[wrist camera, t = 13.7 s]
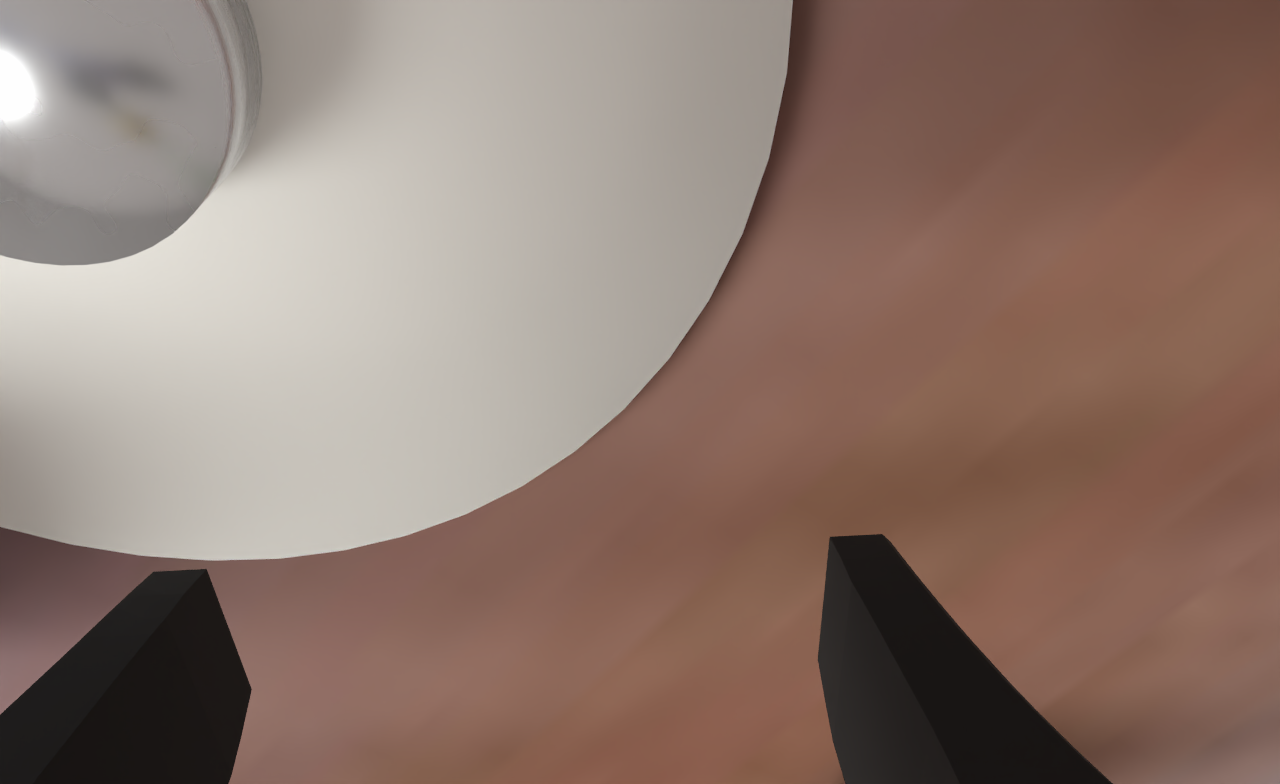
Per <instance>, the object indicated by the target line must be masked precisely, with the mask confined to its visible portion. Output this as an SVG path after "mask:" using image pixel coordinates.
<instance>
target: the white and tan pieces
mask: <svg viewBox="0 0 1280 784" xmlns="http://www.w3.org/2000/svg"><path fill="white" fill-rule="evenodd" d="M262 80H263V77H262V64H261V53H260V48H259V43H258V38H257V33H256V28H255V25H254V22H253V19H252V16H251V13H250V10H249V7H248V4H247V2H246V0H0V255H2V256H5V257H8V258H13V259H18V260H23V261H28V262H33V263H41V264H51V265H90V264H97V263H105V262H111V261H114V260H118V259H122V258H125V257H129V256H132V255H135V254H137V253H139V252H141V251H144V250H146V249H148V248H151V247H153V246H154V245H156V244H157V243H159V242H161V241H162V240H164V239H165V238H167V237H168V236H170V235H172V234H173V233H174V232H175V231H176V230H177V229H178V228H179V227H180V226H182V225H183V224H184V223H185V222H186V221H187V220H188V219H189V218H190V217H191V216H192V215H193V214H194V213H195V211H196V210H197V209H198V208H199V207H200V206H201V205H202V204H203V203H204V202H205V200H206V199H207V198H208V197H209V196H210V195H211V194H212V193H213V192H214V191H215V190H216V188H217V187H218V186H219V185H220V184H221V183H222V182H223V181H224V180H225V179H226V177H227V176H228V175H229V174H230V172H231V171H232V170H233V169H234V167H235V166H236V165H237V164H238V163H239V161H240V159H241V157H242V156H243V154H244V152H245V150H246V149H247V147H248V145H249V143H250V140H251V138H252V135H253V132H254V130H255V127H256V124H257V120H258V115H259V110H260V105H261V97H262Z"/></svg>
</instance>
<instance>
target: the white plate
mask: <svg viewBox="0 0 1280 784" xmlns="http://www.w3.org/2000/svg"><path fill="white" fill-rule="evenodd" d="M246 2H247V4H248V7H249V10H250V13H251V16H252V19H253V22H254V25H255V28H256V33H257V38H258V43H259V48H260V53H261V64H262V77H263V80H262V97H261V105H260V110H259V115H258V120H257V124H256V127H255V130H254V132H253V135H252V138H251V140H250V143H249V145H248V147H247V149H246V150H245V152H244V154H243V156H242V157H241V159H240V161H239V163H238V164H237V165H236V166H235V167H234V169H233V170H232V171H231V172H230V174H229V175H228V176H227V177H226V179H225V180H224V181H223V182H222V183H221V184H220V185H219V186H218V187H217V188H216V190H215V191H214V192H213V193H212V194H211V195H210V196H209V197H208V198H207V199H206V200H205V202H204V203H203V204H202V205H201V206H200V207H199V208H198V209H197V210H196V211H195V213H194V214H193V215H192V216H191V217H190V218H189V219H188V220H187V221H186V222H185V223H184V224H183V225H182V226H180V227H179V228H178V229H177V230H176V231H175V232H174V233H173V234H172V235H170V236H168V237H167V238H165V239H164V240H162V241H161V242H159V243H157V244H156V245H154V246H153V247H151V248H148V249H146V250H144V251H141V252H139V253H137V254H135V255H132V256H129V257H125V258H122V259H118V260H114V261H111V262H105V263H97V264H90V265H51V264H41V263H33V262H28V261H23V260H18V259H13V258H8V257H5V256H2V255H0V527H3V528H7V529H11V530H15V531H19V532H23V533H27V534H31V535H35V536H39V537H43V538H47V539H51V540H55V541H59V542H63V543H67V544H71V545H77V546H84V547H90V548H96V549H102V550H109V551H115V552H121V553H128V554H134V555H140V556H152V557H167V558H182V559H196V560H211V561H212V560H250V559H280V558H288V557H296V556H304V555H312V554H320V553H328V552H336V551H343V550H348V549H352V548H356V547H360V546H365V545H369V544H373V543H377V542H382V541H386V540H390V539H394V538H398V537H403V536H406V535H409V534H412V533H415V532H418V531H420V530H423V529H426V528H429V527H432V526H434V525H437V524H440V523H443V522H446V521H448V520H451V519H454V518H457V517H460V516H462V515H465V514H467V513H469V512H471V511H473V510H475V509H477V508H479V507H481V506H483V505H485V504H487V503H489V502H491V501H493V500H495V499H497V498H499V497H502V496H504V495H506V494H508V493H510V492H512V491H514V490H516V489H518V488H520V487H522V486H523V485H525V484H526V483H528V482H529V481H531V480H532V479H534V478H535V477H537V476H538V475H540V474H541V473H543V472H544V471H546V470H547V469H549V468H551V467H552V466H554V465H555V464H557V463H558V462H560V461H561V460H563V459H564V458H566V457H567V456H569V455H570V454H572V453H573V452H575V451H576V450H577V449H578V448H579V447H581V446H582V445H583V444H584V443H585V442H586V441H588V440H589V439H590V438H591V437H592V436H593V435H595V434H596V433H597V432H598V431H599V430H600V429H602V428H603V427H604V426H605V425H606V424H607V423H609V422H610V421H611V420H612V419H613V418H614V417H616V416H617V415H618V414H619V413H620V412H621V411H623V410H624V409H625V408H626V406H627V405H628V404H629V403H630V402H631V401H632V400H633V399H634V398H635V396H636V395H637V394H638V393H639V392H640V391H641V390H642V389H643V388H644V386H645V385H646V384H647V383H648V382H649V381H650V380H651V379H652V377H653V376H654V375H655V374H656V373H657V372H658V371H659V370H660V369H661V367H662V366H663V365H664V364H665V363H666V362H667V361H668V360H669V358H670V357H671V355H672V354H673V353H674V351H675V350H676V348H677V347H678V345H679V344H680V342H681V341H682V339H683V338H684V336H685V335H686V333H687V332H688V331H689V329H690V328H691V326H692V325H693V323H694V322H695V320H696V319H697V317H698V316H699V314H700V313H701V312H702V310H703V309H704V307H705V306H706V304H707V303H708V301H709V299H710V297H711V296H712V294H713V292H714V290H715V288H716V286H717V284H718V282H719V280H720V278H721V276H722V274H723V272H724V270H725V268H726V266H727V264H728V262H729V260H730V258H731V256H732V254H733V252H734V250H735V248H736V246H737V244H738V242H739V240H740V238H741V236H742V234H743V231H744V228H745V225H746V223H747V220H748V217H749V214H750V211H751V208H752V205H753V203H754V200H755V197H756V194H757V191H758V188H759V185H760V182H761V180H762V177H763V174H764V171H765V168H766V165H767V162H768V160H769V156H770V151H771V146H772V142H773V137H774V132H775V127H776V122H777V118H778V113H779V108H780V103H781V99H782V94H783V89H784V84H785V80H786V75H787V66H788V54H789V42H790V30H791V18H792V5H793V0H246Z"/></svg>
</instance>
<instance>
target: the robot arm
mask: <svg viewBox="0 0 1280 784" xmlns="http://www.w3.org/2000/svg"><path fill="white" fill-rule="evenodd" d="M818 663H819V668H820V674H821V680H822V685H823V691H824V697H825V702H826V708H827V713H828V718H829V723H830V728H831V733H832V739H833V743H834V746H835V750H836V753H837V757H838V760H839V763H840V767H841V770H842V773H843V777H844V780H845V783H846V784H1113V783H1111V782H1110V781H1109V780H1108V779H1107V778H1106V777H1105V776H1104V775H1103V774H1102V773H1100V772H1099V771H1098V770H1097V769H1096V768H1095V767H1094V766H1093V765H1092V764H1091V763H1090V762H1089V761H1088V760H1086V759H1085V758H1084V757H1083V756H1082V755H1081V754H1080V753H1079V752H1078V751H1077V750H1076V749H1075V748H1074V747H1073V746H1072V745H1071V744H1070V743H1069V742H1068V741H1067V740H1066V739H1065V738H1064V737H1063V736H1062V735H1061V734H1060V733H1059V732H1058V731H1057V730H1056V729H1055V728H1054V727H1053V726H1052V725H1051V724H1050V723H1049V722H1048V721H1047V720H1046V719H1045V718H1044V717H1042V716H1041V715H1040V714H1039V713H1038V712H1037V711H1036V710H1035V709H1034V708H1033V706H1032V705H1031V704H1030V703H1029V702H1028V701H1027V700H1026V699H1025V698H1024V697H1023V696H1022V695H1021V694H1020V693H1019V692H1018V691H1017V690H1016V689H1015V688H1014V687H1013V686H1012V685H1011V683H1010V682H1009V681H1008V680H1007V679H1006V678H1005V677H1004V676H1003V675H1002V674H1001V672H1000V671H999V670H998V669H997V668H996V667H995V666H994V665H993V664H992V663H991V661H990V660H989V659H988V658H987V657H986V656H985V655H984V654H983V653H982V652H981V650H980V649H979V648H978V647H977V646H976V645H975V644H974V643H973V642H972V641H971V639H970V638H969V637H968V636H967V635H966V634H965V633H964V631H963V630H962V629H961V628H960V627H959V626H958V624H957V623H956V622H955V621H954V620H953V619H952V617H951V616H950V615H949V614H948V613H947V611H946V610H945V609H944V608H943V607H942V605H941V604H940V603H939V602H938V601H937V600H936V598H935V597H934V596H933V595H932V594H931V592H930V591H929V590H928V589H927V587H926V586H925V585H924V584H923V582H922V581H921V580H920V579H919V577H918V576H917V575H916V574H915V572H914V571H913V570H912V569H911V567H910V566H909V565H908V564H907V562H906V561H905V560H904V559H903V557H902V556H901V555H900V554H899V552H898V551H897V550H896V548H895V547H894V546H893V545H892V543H891V542H890V541H889V540H888V539H887V538H886V537H885V536H884V535H882V534H877V535H858V536H838V537H830V540H829V550H828V560H827V571H826V581H825V591H824V601H823V611H822V622H821V632H820V642H819V652H818ZM251 690H252V689H251V686H250V684H249V681H248V678H247V676H246V673H245V670H244V668H243V665H242V662H241V660H240V657H239V654H238V652H237V649H236V646H235V644H234V641H233V638H232V636H231V633H230V630H229V628H228V625H227V622H226V620H225V617H224V614H223V612H222V609H221V606H220V604H219V601H218V598H217V596H216V593H215V590H214V588H213V585H212V582H211V580H210V577H209V574H208V572H207V569H200V570H181V571H162V572H153V573H152V574H151V575H150V576H148V577H147V578H146V579H145V580H144V581H143V582H142V583H140V584H139V585H138V586H137V587H136V588H135V589H134V590H133V591H132V592H131V593H129V594H128V595H127V596H126V597H125V598H124V599H123V600H122V601H121V602H120V603H119V604H118V605H117V606H116V607H115V608H113V609H112V610H111V611H110V612H109V613H108V614H107V615H106V616H105V617H104V618H103V619H102V620H101V621H100V622H99V623H98V624H97V625H96V626H95V627H93V628H92V629H91V630H90V631H89V632H88V633H87V634H86V635H85V636H84V637H83V638H82V639H81V640H80V641H79V642H78V643H77V644H76V645H75V646H74V647H72V648H71V649H70V650H69V651H68V652H67V653H66V654H65V655H64V656H63V657H62V658H61V659H60V660H59V661H58V662H57V663H55V664H54V665H53V666H52V667H51V668H50V669H49V670H48V671H47V672H46V673H45V674H44V675H43V676H41V677H40V678H39V679H38V680H37V681H36V682H35V683H34V684H33V685H32V686H31V687H30V688H29V689H28V690H26V691H25V692H24V693H23V694H22V695H21V696H20V697H19V698H18V699H17V700H16V701H15V702H14V703H12V704H11V705H10V706H9V707H8V708H7V709H6V710H5V711H4V712H3V713H2V714H1V715H0V784H228V783H229V780H230V777H231V775H232V771H233V767H234V763H235V759H236V755H237V751H238V747H239V743H240V739H241V735H242V730H243V726H244V721H245V717H246V712H247V708H248V703H249V699H250V694H251Z"/></svg>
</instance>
